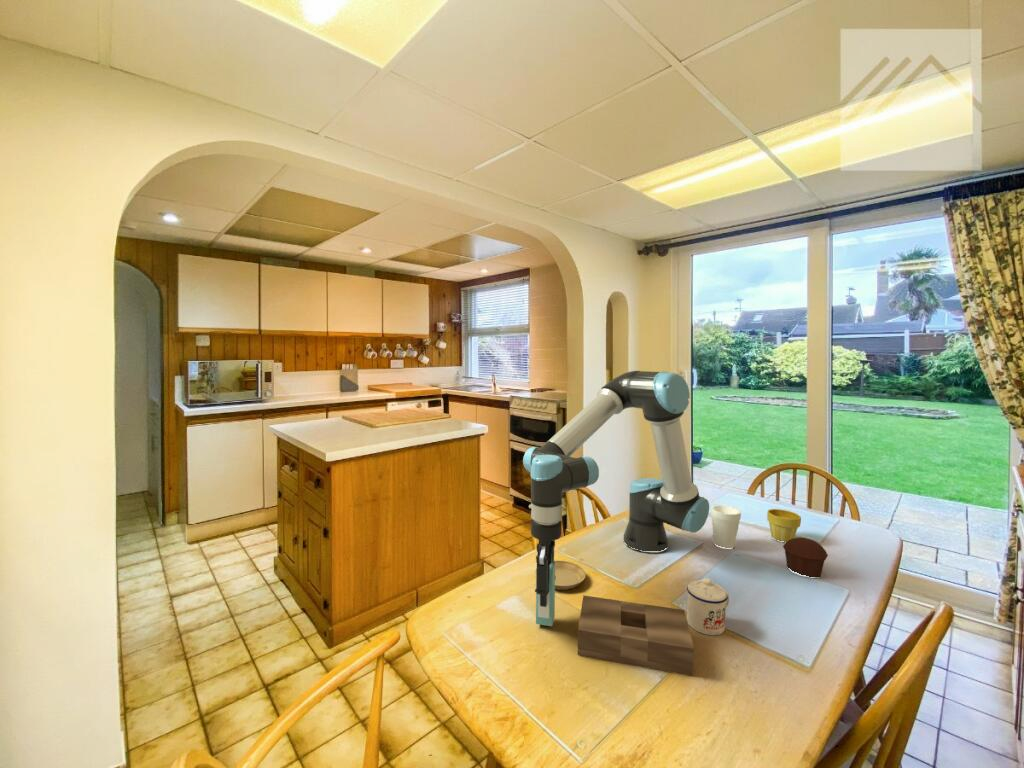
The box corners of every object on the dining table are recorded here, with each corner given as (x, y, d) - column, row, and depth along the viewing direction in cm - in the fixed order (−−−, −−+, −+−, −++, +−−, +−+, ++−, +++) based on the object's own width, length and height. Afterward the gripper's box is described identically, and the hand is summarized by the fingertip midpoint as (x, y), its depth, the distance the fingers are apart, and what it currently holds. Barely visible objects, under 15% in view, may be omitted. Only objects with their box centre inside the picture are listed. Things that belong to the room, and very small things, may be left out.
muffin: (813, 563, 139) (814, 533, 138) (835, 581, 128) (837, 549, 127) (774, 561, 140) (776, 531, 139) (793, 579, 129) (795, 547, 128)
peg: (538, 614, 109) (539, 560, 107) (554, 616, 108) (555, 562, 107) (535, 623, 105) (536, 568, 104) (552, 626, 104) (552, 570, 103)
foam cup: (703, 541, 154) (705, 506, 153) (724, 538, 157) (725, 503, 156) (723, 553, 145) (725, 516, 144) (745, 549, 148) (747, 513, 147)
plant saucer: (545, 597, 118) (545, 588, 118) (529, 571, 132) (529, 563, 132) (594, 590, 122) (594, 581, 122) (573, 565, 136) (573, 557, 136)
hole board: (582, 618, 109) (583, 595, 108) (683, 633, 103) (684, 609, 102) (577, 655, 95) (578, 629, 95) (693, 676, 89) (694, 648, 89)
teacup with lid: (706, 640, 100) (708, 593, 100) (677, 618, 109) (679, 574, 108) (742, 628, 105) (745, 582, 104) (712, 608, 114) (714, 565, 113)
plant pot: (799, 537, 158) (800, 512, 157) (800, 548, 149) (801, 521, 149) (766, 531, 163) (767, 506, 163) (765, 541, 155) (767, 515, 154)
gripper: (537, 505, 113) (537, 590, 115) (523, 532, 97) (523, 630, 99) (565, 508, 112) (564, 594, 113) (556, 535, 95) (555, 635, 97)
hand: (545, 610), depth 106 cm, fingers closed on peg, 4 cm apart
